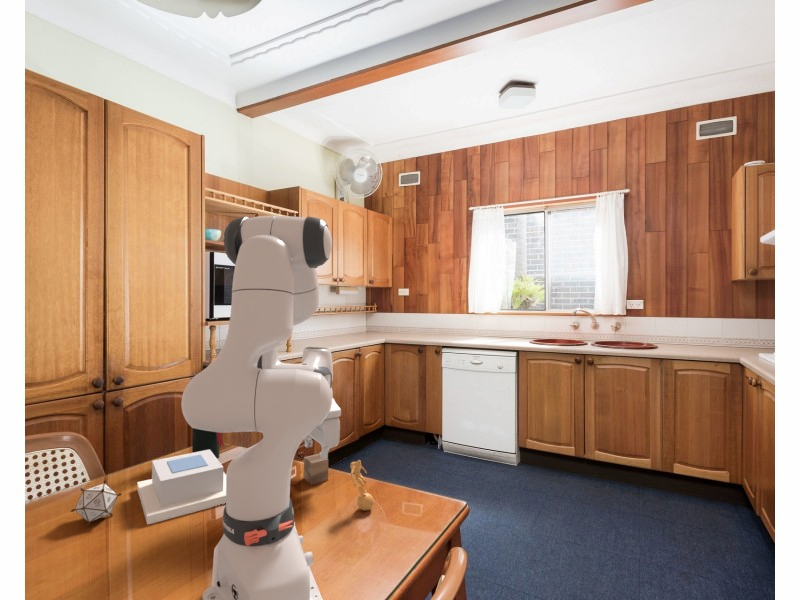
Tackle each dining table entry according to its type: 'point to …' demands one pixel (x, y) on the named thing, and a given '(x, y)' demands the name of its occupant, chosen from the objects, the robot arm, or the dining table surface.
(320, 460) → the walnut block
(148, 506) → the pedestal
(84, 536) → the dining table surface
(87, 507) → the game die
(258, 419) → the robot arm
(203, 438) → the wine bottle
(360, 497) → the figurine
